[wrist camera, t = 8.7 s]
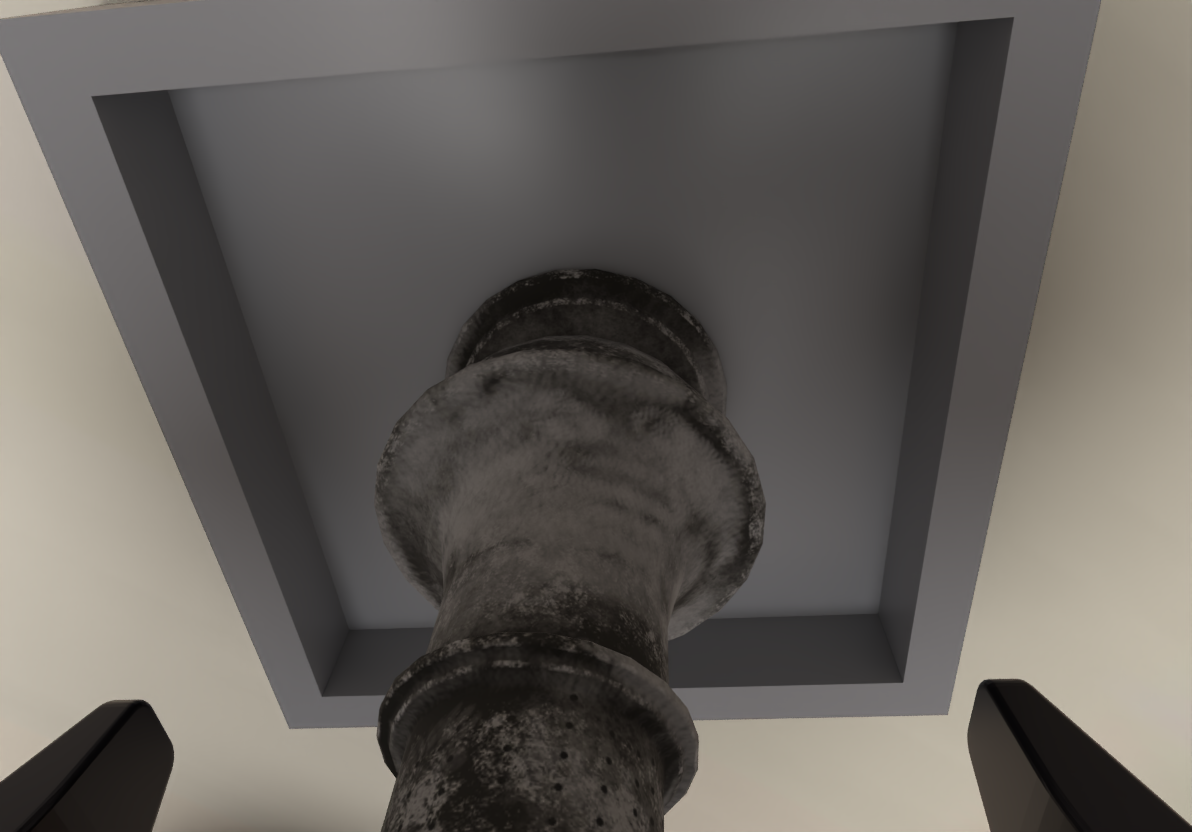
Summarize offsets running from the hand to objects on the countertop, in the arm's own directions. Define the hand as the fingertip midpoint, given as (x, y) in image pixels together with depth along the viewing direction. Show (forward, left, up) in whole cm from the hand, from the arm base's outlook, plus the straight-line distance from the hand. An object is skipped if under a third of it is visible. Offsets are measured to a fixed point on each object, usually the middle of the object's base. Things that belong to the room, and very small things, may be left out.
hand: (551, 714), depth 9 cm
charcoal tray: (0, 0, -8) cm, 8 cm away
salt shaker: (0, 0, -8) cm, 8 cm away
